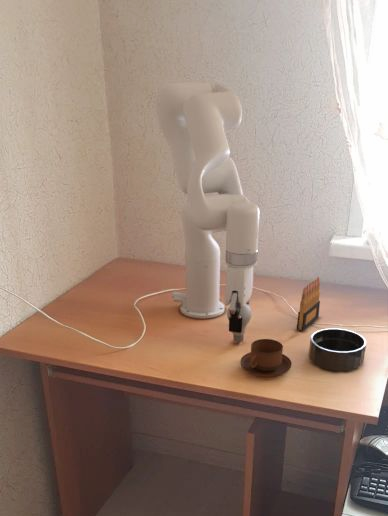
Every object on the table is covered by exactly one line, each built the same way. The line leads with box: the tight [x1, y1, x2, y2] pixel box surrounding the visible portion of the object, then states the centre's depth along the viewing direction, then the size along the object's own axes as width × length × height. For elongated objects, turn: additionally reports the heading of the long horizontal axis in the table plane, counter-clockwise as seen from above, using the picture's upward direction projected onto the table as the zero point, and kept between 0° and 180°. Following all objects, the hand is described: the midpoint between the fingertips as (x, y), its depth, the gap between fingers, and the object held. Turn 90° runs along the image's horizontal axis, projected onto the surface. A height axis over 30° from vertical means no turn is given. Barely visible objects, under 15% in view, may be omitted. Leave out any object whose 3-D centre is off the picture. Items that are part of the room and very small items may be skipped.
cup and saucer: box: [239, 338, 292, 378], centre depth 147 cm, size 12×12×6 cm
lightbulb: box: [226, 303, 253, 344], centre depth 158 cm, size 6×6×11 cm
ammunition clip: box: [296, 276, 321, 332], centre depth 167 cm, size 11×2×12 cm, turn 148°
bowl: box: [308, 327, 367, 373], centre depth 151 cm, size 13×13×6 cm
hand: (238, 325), depth 158 cm, fingers closed on lightbulb, 6 cm apart
